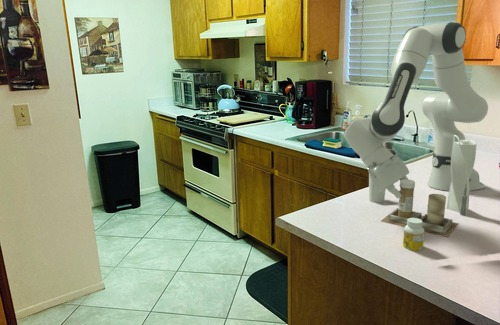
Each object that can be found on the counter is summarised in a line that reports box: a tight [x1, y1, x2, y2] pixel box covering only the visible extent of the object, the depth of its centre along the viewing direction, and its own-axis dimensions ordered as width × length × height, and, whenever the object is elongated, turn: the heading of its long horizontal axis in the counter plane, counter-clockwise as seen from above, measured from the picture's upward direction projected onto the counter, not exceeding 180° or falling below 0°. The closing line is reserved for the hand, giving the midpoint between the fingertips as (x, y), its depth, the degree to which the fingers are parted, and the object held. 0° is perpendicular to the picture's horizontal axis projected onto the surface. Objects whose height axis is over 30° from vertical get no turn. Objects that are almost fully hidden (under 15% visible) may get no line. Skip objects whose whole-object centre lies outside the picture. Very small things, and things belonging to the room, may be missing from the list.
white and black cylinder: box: [368, 175, 387, 204], centre depth 157 cm, size 7×7×10 cm
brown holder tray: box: [380, 207, 460, 238], centre depth 132 cm, size 21×13×3 cm, turn 50°
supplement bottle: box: [402, 218, 425, 252], centre depth 115 cm, size 5×5×10 cm
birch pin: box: [426, 193, 447, 227], centre depth 128 cm, size 5×5×10 cm
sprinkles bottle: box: [398, 178, 416, 219], centre depth 134 cm, size 5×5×14 cm
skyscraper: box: [445, 135, 477, 217], centre depth 139 cm, size 8×8×28 cm
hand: (405, 192), depth 133 cm, fingers open, 8 cm apart
